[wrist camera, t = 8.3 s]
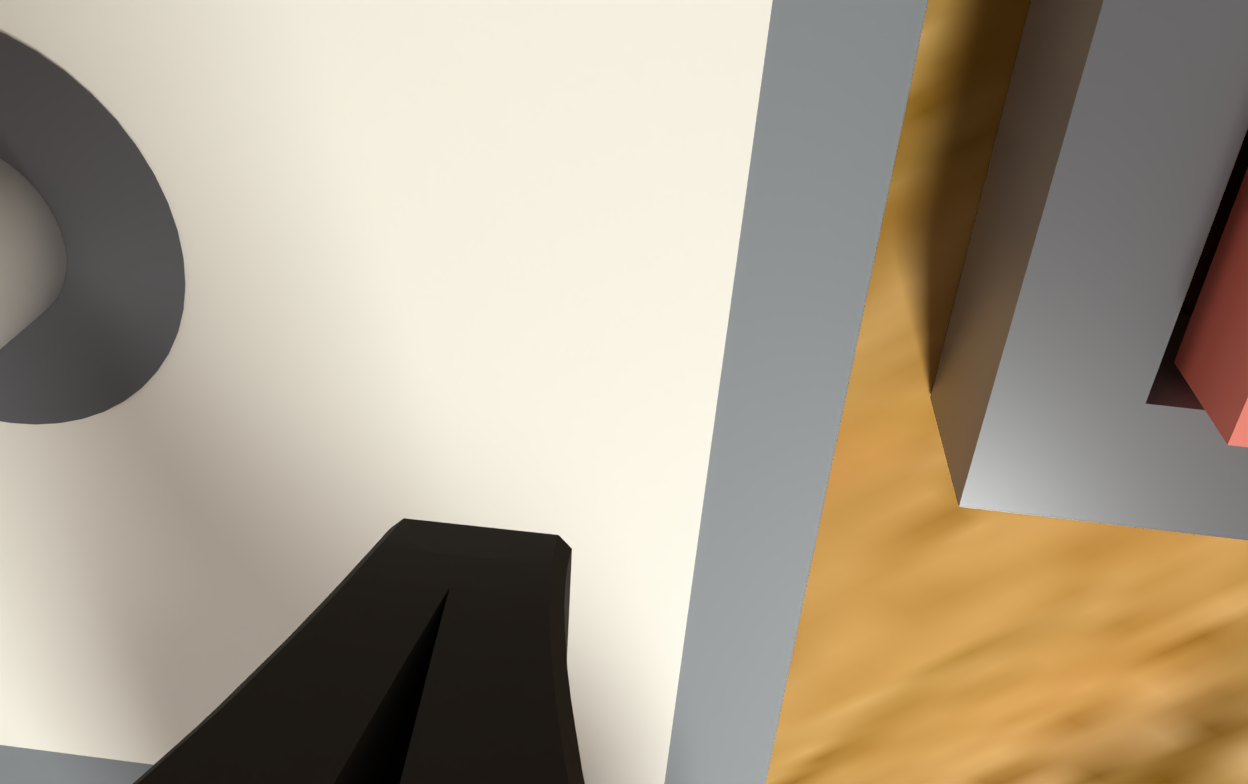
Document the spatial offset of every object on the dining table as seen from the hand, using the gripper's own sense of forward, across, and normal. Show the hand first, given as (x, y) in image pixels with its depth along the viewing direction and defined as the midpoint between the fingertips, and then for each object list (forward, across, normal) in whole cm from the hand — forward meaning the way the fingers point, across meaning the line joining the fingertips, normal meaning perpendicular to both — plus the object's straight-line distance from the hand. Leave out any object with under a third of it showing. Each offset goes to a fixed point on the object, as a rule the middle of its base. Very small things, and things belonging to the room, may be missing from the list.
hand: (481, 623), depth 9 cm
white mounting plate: (+10, +6, +4) cm, 12 cm away
